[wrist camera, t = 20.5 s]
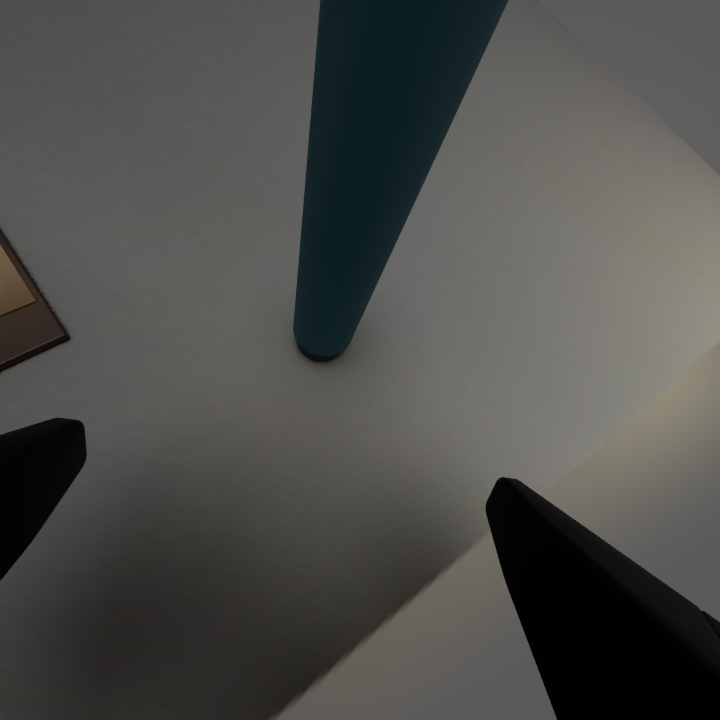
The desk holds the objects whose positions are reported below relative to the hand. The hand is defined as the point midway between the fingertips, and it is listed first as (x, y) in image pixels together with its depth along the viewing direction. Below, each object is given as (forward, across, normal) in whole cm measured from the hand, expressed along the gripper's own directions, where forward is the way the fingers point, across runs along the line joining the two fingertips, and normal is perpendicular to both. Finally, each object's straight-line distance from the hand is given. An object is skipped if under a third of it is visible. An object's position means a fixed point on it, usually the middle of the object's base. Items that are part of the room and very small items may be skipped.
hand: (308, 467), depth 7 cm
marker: (+10, 0, +1) cm, 10 cm away
